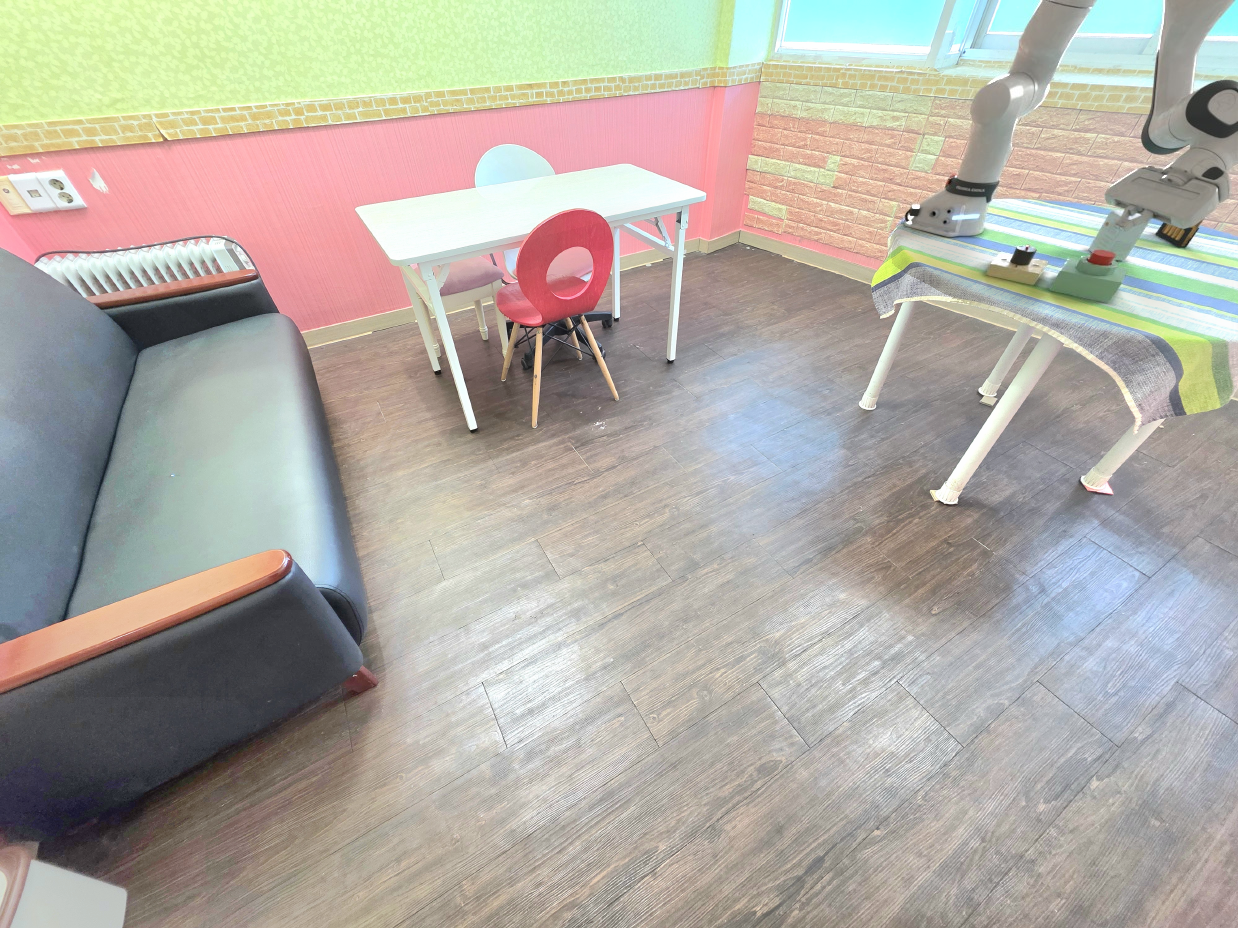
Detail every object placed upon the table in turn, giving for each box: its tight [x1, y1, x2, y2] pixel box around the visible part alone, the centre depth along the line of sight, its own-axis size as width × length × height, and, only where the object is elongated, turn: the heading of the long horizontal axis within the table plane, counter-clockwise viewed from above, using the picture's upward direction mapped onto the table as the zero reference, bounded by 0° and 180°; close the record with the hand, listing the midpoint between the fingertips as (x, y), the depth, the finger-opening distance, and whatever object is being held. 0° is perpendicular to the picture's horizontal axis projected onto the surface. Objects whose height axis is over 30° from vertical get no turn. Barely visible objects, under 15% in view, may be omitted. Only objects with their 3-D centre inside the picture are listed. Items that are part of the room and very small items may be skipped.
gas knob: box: [1010, 244, 1038, 265], centre depth 128 cm, size 4×4×4 cm
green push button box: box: [1048, 255, 1129, 304], centre depth 121 cm, size 12×10×7 cm
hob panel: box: [985, 251, 1049, 286], centre depth 130 cm, size 11×10×3 cm
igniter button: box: [1087, 250, 1116, 266], centre depth 118 cm, size 4×4×2 cm
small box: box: [1088, 209, 1151, 261], centre depth 133 cm, size 8×6×10 cm
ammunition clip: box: [1155, 217, 1206, 248], centre depth 138 cm, size 11×2×12 cm, turn 172°
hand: (1119, 228), depth 113 cm, fingers closed
